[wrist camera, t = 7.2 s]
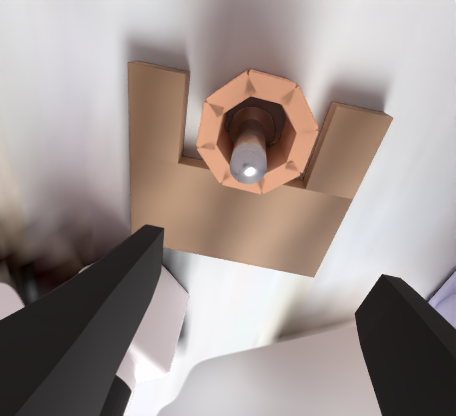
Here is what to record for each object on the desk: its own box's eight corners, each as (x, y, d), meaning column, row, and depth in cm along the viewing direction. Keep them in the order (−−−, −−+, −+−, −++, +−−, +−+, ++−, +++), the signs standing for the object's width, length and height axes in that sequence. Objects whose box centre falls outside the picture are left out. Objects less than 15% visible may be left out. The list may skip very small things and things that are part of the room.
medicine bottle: (82, 266, 24) (-45, 430, 14) (142, 239, 22) (42, 413, 12) (133, 314, 27) (59, 478, 17) (191, 295, 25) (145, 472, 15)
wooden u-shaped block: (384, 112, 15) (393, 118, 14) (311, 266, 22) (313, 277, 21) (136, 60, 15) (127, 62, 14) (137, 231, 21) (131, 240, 20)
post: (280, 112, 16) (289, 143, 11) (268, 157, 17) (271, 201, 13) (232, 102, 16) (221, 129, 11) (224, 148, 17) (211, 189, 13)
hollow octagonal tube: (314, 85, 15) (333, 93, 11) (283, 173, 17) (291, 202, 14) (221, 61, 15) (211, 61, 11) (203, 153, 17) (190, 177, 14)
